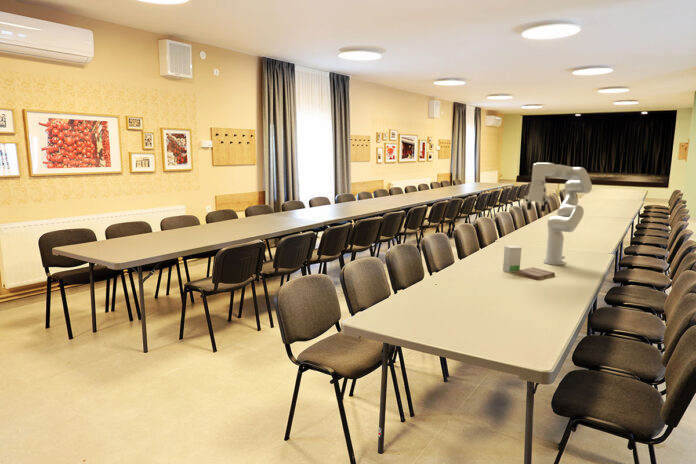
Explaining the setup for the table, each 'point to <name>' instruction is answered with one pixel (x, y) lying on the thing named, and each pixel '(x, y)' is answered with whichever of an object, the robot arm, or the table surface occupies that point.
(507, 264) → the skincare box
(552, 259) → the robot arm
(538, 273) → the walnut board
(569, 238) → the table surface
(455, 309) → the table surface
